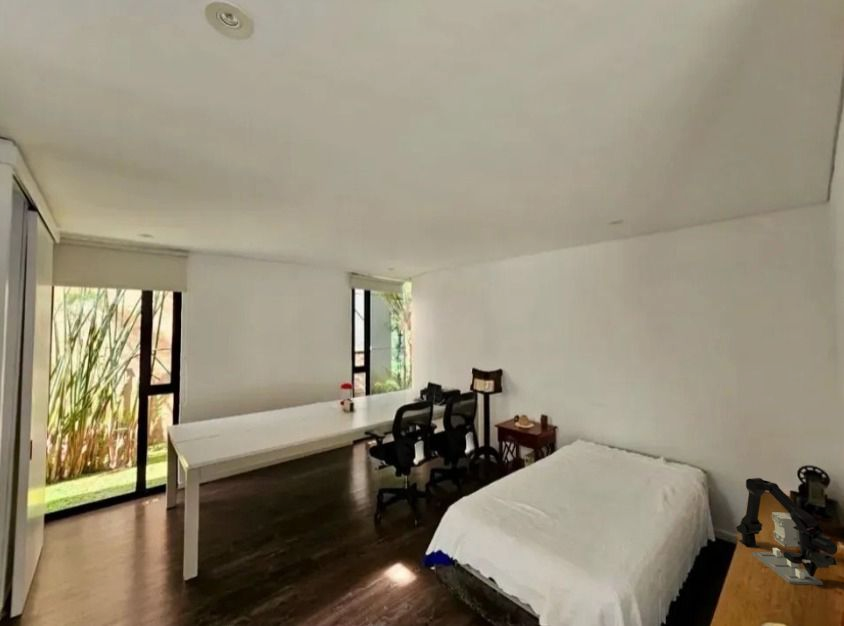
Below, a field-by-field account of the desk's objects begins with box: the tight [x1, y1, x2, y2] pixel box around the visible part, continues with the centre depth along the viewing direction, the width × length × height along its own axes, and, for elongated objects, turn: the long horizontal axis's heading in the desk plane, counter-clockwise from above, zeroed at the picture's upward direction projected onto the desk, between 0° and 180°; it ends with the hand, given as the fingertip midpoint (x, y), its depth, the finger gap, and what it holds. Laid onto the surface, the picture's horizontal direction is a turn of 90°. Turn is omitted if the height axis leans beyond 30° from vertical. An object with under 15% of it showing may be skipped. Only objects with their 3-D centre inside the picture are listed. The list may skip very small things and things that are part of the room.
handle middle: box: [787, 559, 796, 567], centre depth 187 cm, size 2×2×3 cm
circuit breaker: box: [771, 511, 810, 548], centre depth 209 cm, size 8×14×15 cm, turn 78°
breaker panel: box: [751, 551, 824, 586], centre depth 187 cm, size 24×14×1 cm, turn 172°
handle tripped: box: [795, 569, 805, 579], centre depth 179 cm, size 2×2×3 cm
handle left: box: [772, 547, 782, 557], centre depth 196 cm, size 2×2×3 cm
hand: (811, 576), depth 178 cm, fingers closed
